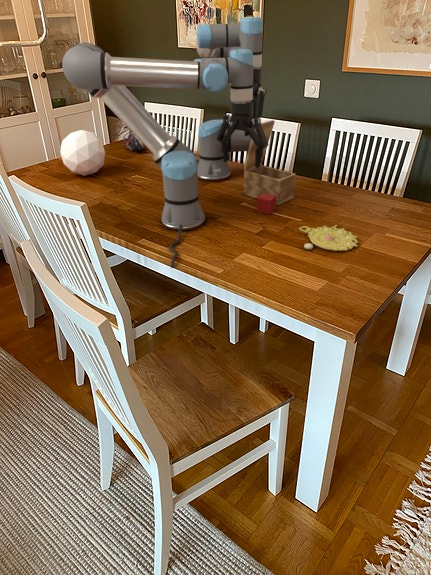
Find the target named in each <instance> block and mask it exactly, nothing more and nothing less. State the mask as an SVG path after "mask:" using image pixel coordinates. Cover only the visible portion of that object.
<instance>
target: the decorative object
mask: <svg viewBox="0 0 431 575" xmlns="http://www.w3.org/2000/svg"><path fill="white" fill-rule="evenodd" d="M303 228H304V229H305V230H304V229H303ZM299 231H300V232H303V233H305V234H307V237H308V238H309V240H310V241H311V243H304V244H303V248H304V249H305V250H313V249H314V245H315V246H316V247H318V248H321V249H324V250H328V251H335V252H341V251H348V250H352V249H354V247H356V248H358V247H359V245H358V244H357V243H359V240H357V238H359V237H358V235H353V234H352V231H347V230H346V229H345V228H344V227H342V228H338V224H335V225H333V226H331V227H328V226H327V225H326V224H325V225H323V226H322V227H321V226H317V227H316V228H314V227H309V226H308V225H302V226H300V227H299ZM313 244H314V245H313Z"/></svg>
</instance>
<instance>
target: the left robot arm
mask: <svg viewBox="0 0 431 575" xmlns="http://www.w3.org/2000/svg"><path fill="white" fill-rule="evenodd" d="M61 64H62V65H61V67H62V72H63V74H64V77H65V78H66V81H68V82H69V83H70V84H71V85H72V86H74V87H75V88H77V89H81V90H85V91H86V92H87V94H89V95H90V96H91V97H92V99H99V100H101V101H102V102H103V103H104V104H105V105H106V106H107V107H108V108H109V109H110V110H111V111H112V113H113V114H114V115H115V116H116V117H117V118H118V119H119V120H120V121H121V122H122V123H123V124H124V125H125V126H126V127H127V128H128V129H129V131H131V132H133V133H134V134H135V135H136V137H137V138H138V139H139V140H140V141H141V142H142V143H143V144H144V145H145V146H146V147H147V148H146V149H148V150H149V151H150V153H151V154H152V161H153V162H154V163H155V164H156V165H157V166H158V167H159V168H160V170H161V173H162V175H161V176H162V184H163V194H164V204H163V209H162V213H161V219H160V220H161V225H162V227H163V228H165V229H167V230H170V231H175V232H176V231H177V232H178V233H177V239H176V240H175V241H173V242H172V243H171V244H169V249H170V250H171V251H172V252H173V253H174V254H173V256H172V258H171V261H170V262H171V263H170V268H171V269H174V268H175V261H176V259H177V257H178V251H177V250H176V249H175V248H173V247H174V246H176V245H177V244H179V243H180V241H181V238H182V232H185V231H186V232H187V231H192V230H195V229H198V228H201V227H202V226H203V225H204V224H205V223H206V216H205V212H204V210H203V208H202V204H201V202H200V196H199V179H198V174H197V169H198V164H199V163H198V161H197V160H198V159H197V157H196V155H195V154H194V152H193V150H192V149H191V148H190V147H188V146H187V145H185V144H184V143H183V142H182V141H181V140H180V139H179V138H178V137H177V136H175V135H170V134H169V133H168V132H167V131H166V130H165V129H164V127H163V126H161V124H160V123H159V122H158V121H157V119H155V118H154V116H152V114H151V113H150V112H149V111H148V110H147V109H146V108H145V106H144V105H142V103H141V102H140V101H139V100H138V99H137V98H136V97H135V95H134V94H133V93H132V92H131V91H130V90H129V89H128V88H127V87H140V88H141V87H142V88H161V89H162V88H165V89H186V90H187V89H188V90H190V89H191V90H204V91H205V90H206V91H210V92H212V93H218V92H222V91H223V90H224V89H225V88H226V87H227V85H228V84H229V88H230V96H229V98H230V101H231V102H230V114H228V113H227V114H224V115H223V118H222V120H223V123H222V126H221V129H220V131H219V134H218V136H217V141H220V142H221V144H222V152H223V159H224V162H230V152H229V143H228V139H229V138H230V137H231V135H232V134H233V133H234V131H235V130H236V129H237V130H242V131H246V132H247V133H248V134H249V135H250V137H251V139H252V140H253V142H254V143H255V145H256V146H257V149H255V168H258V167H260V166H261V165H262V164H261V158H262V157H263V148H265V147H267V148H268V147H269V142H268V141H267V139H266V136H265V133H264V131H263V128H262V125H261V123H262V117H259V118H253V117H252V113H253V103H252V100H253V66H254V65H253V53H252V51H251V50H249V49H237V50H231V51H230V55H229V57H226V58H196V59H194V60H177V59H176V60H175V59H157V58H139V57H121V56H111V55H110V54H109V53H108V52H104V50H103V49H102V48H101V47H100V46H98V45H96V44H93V43H90V42H81V43H78V44H76V45H75V46H73V47H71V48H69V49H68V50H67V51H66V52H65V53H64V55H63V58H62V63H61ZM230 121H231V122H232V123H233V124H232V125H231V127H230V129H229V130H228V132H227V133H226V134H225V132H226V130H227V127H228V125H229V123H230ZM252 123H253V125H254V126H255V129H256V132H257V133H256V132H255V130H254V127H253V126H252ZM249 128H250V129H249ZM224 135H225V136H224ZM226 142H227V143H226Z"/></svg>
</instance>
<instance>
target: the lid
mask: <svg viewBox="0 0 431 575" xmlns="http://www.w3.org/2000/svg"><path fill="white" fill-rule="evenodd" d="M275 123H276V121H275V120H274V119H272V120H268V121H264V122H261V125H262V128H263V131H264V133H265V136H266V139H267V141H268V143H269V142H270V139H271V136H272V132H273V129H274V125H275ZM249 129H250V128H249ZM254 130H255V132H256V129H255V128H254ZM256 133H257V132H256ZM267 148H268V146H267V147H265V148H263V157H262V158H261V165H263V161H264V158H265V154H266V152H267ZM255 149H257V146H256V145H255V143H254V142H253V140H252V139H251V143H250V146H249V150H248V151H247V154H246V158H245V162H244V165H243V167H242V168H243V170H244V171H246V170H248V169H251V168H254V167H255Z"/></svg>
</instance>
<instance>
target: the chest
mask: <svg viewBox="0 0 431 575" xmlns="http://www.w3.org/2000/svg"><path fill="white" fill-rule="evenodd" d="M296 177H297V174H296V173H294V172H290V171H286V170H282V169H278V168H274V167H271V166H267V165H263V164H261V166H260V167H258V168H255V167H252V168H249V169H247V170H244V171H243V178H244V179H243V195H245V196H247V197H251V198H254V199H257V198H258V197H259V196H260V195H261V194H262V193H265V194H272V195H276V206H280V205H282V204H284V203H286V202H288V201H290V200H292V199H295V192H296V179H297V178H296Z"/></svg>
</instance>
